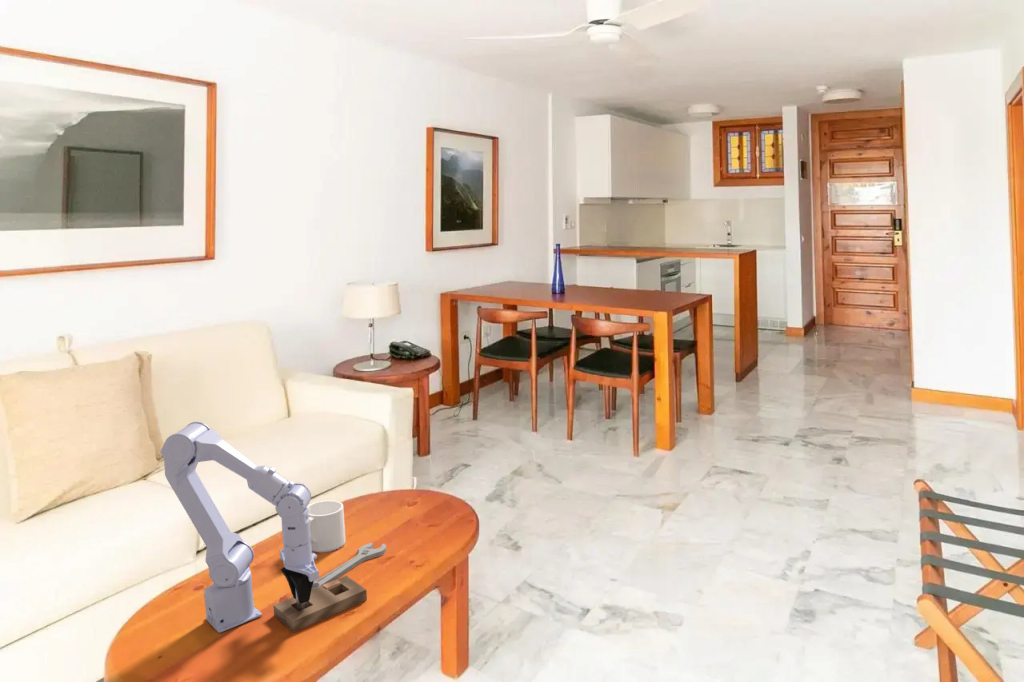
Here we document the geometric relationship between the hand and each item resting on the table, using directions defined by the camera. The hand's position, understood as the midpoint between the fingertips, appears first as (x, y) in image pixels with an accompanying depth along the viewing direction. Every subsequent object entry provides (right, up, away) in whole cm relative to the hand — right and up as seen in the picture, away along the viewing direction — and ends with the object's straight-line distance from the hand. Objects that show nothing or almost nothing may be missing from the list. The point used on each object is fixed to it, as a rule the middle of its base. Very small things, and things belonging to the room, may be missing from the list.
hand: (301, 599), depth 152 cm
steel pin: (0, -4, +1) cm, 4 cm away
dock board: (+3, -3, +4) cm, 6 cm away
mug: (-4, +2, +33) cm, 34 cm away
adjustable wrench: (+5, -1, +22) cm, 22 cm away
